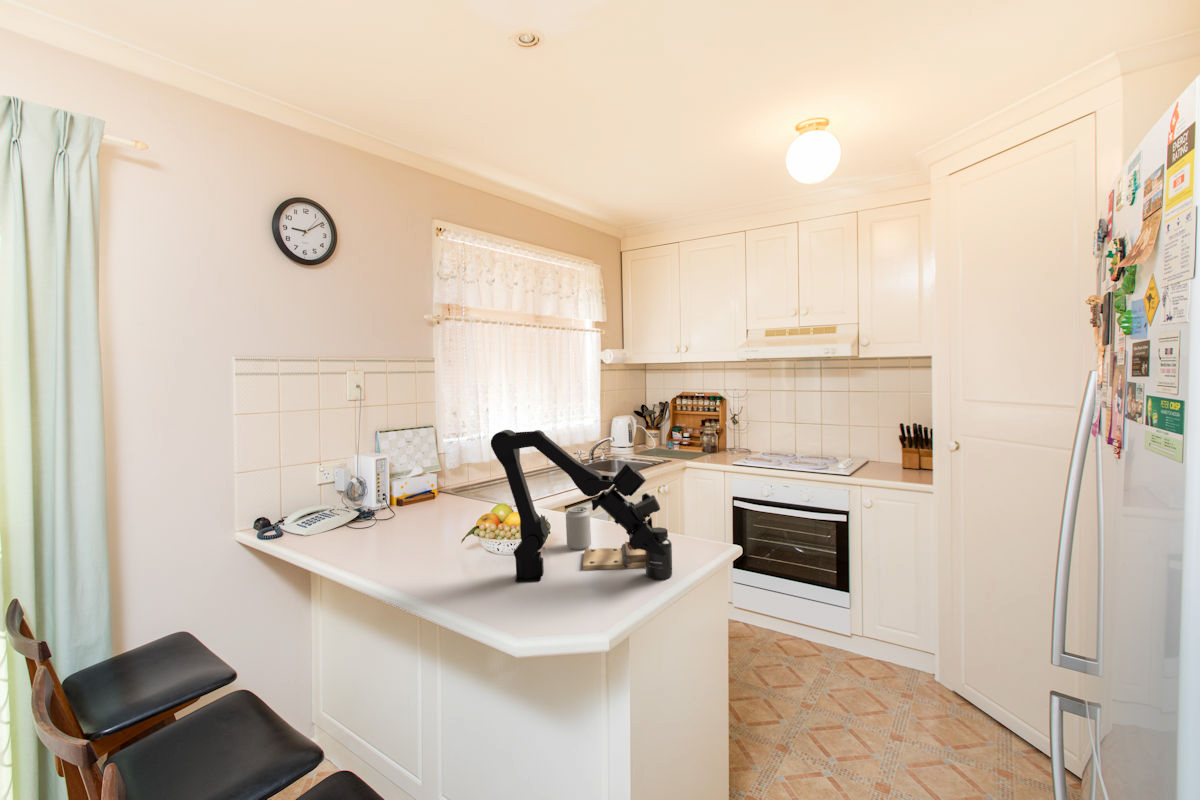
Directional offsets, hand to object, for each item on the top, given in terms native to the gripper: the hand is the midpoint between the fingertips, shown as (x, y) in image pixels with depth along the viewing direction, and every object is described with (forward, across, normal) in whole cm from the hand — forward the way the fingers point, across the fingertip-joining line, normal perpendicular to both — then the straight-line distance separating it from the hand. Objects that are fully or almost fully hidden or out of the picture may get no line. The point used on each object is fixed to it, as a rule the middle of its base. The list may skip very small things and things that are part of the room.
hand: (663, 550), depth 137 cm
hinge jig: (-2, +13, +12) cm, 17 cm away
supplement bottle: (+4, 0, +6) cm, 7 cm away
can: (-13, +25, +22) cm, 36 cm away
